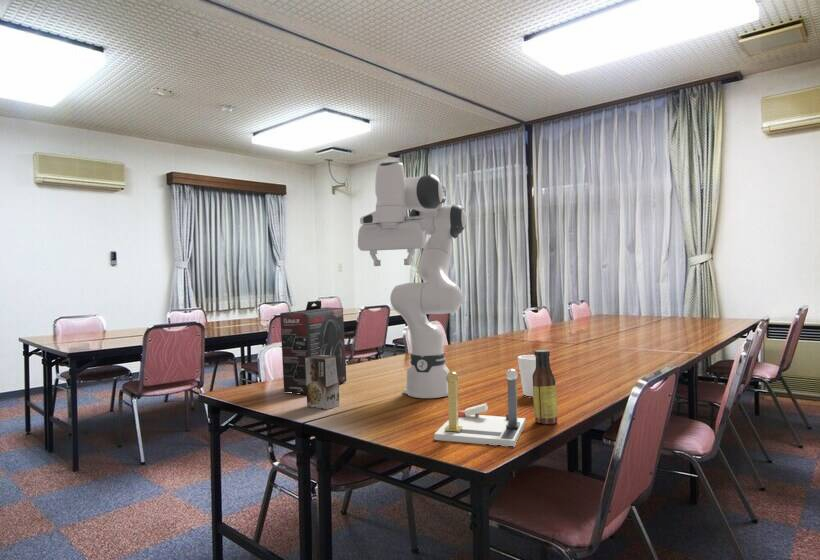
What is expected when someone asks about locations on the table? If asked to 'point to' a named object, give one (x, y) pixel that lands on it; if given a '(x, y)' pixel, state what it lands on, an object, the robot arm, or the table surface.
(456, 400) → the brass lever
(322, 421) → the table surface
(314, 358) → the coffee box
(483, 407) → the block
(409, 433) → the table surface
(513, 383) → the graphite lever
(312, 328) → the headset box
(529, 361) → the foam cup
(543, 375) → the sauce bottle
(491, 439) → the panel
